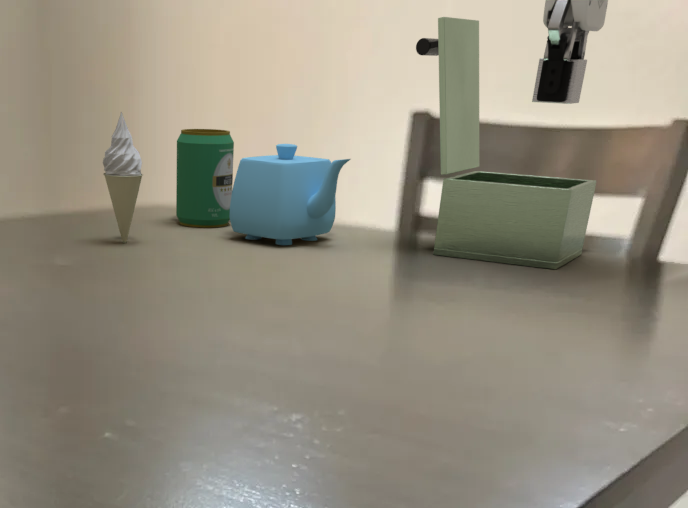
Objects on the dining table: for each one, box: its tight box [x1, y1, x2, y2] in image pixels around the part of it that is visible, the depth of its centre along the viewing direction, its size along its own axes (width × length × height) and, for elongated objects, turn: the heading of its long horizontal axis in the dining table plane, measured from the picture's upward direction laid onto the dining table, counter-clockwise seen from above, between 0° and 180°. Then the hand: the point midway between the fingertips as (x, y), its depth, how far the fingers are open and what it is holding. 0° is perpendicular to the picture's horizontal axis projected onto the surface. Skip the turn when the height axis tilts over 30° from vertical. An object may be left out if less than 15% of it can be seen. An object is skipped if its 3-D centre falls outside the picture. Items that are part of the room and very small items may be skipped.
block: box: [531, 57, 588, 105], centre depth 113 cm, size 4×4×4 cm
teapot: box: [229, 143, 352, 246], centre depth 128 cm, size 12×18×12 cm
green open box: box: [432, 170, 597, 270], centre depth 123 cm, size 16×13×9 cm
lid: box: [415, 16, 480, 176], centre depth 121 cm, size 16×13×5 cm
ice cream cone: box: [102, 111, 144, 244], centre depth 122 cm, size 5×5×15 cm
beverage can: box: [175, 128, 235, 229], centre depth 138 cm, size 8×8×12 cm
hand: (556, 99), depth 114 cm, fingers closed on block, 4 cm apart
